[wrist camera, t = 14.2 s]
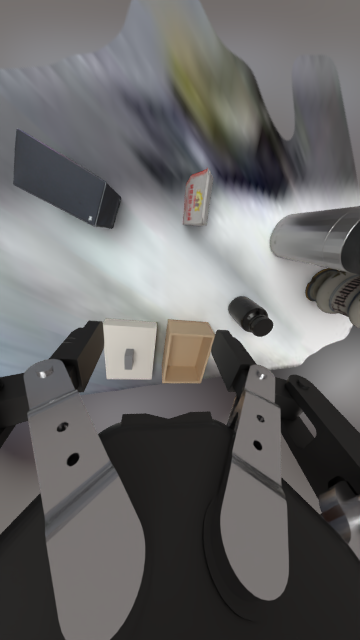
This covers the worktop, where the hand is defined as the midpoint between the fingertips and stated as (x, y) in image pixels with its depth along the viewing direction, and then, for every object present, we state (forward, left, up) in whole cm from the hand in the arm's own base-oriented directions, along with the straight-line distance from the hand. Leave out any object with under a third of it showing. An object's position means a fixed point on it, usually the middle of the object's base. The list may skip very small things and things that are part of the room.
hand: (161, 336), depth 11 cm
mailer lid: (+6, +26, -30) cm, 40 cm away
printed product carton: (-6, -12, -30) cm, 33 cm away
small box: (+14, -10, -30) cm, 35 cm away
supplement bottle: (-24, +9, -30) cm, 40 cm away
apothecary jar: (-47, 0, -30) cm, 56 cm away
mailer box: (-10, +24, -30) cm, 40 cm away
